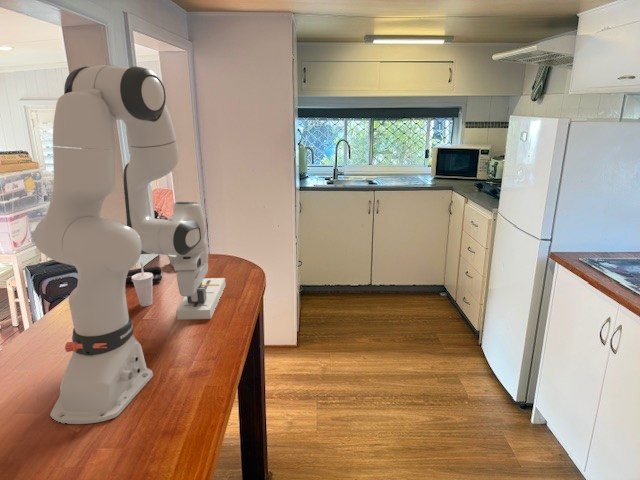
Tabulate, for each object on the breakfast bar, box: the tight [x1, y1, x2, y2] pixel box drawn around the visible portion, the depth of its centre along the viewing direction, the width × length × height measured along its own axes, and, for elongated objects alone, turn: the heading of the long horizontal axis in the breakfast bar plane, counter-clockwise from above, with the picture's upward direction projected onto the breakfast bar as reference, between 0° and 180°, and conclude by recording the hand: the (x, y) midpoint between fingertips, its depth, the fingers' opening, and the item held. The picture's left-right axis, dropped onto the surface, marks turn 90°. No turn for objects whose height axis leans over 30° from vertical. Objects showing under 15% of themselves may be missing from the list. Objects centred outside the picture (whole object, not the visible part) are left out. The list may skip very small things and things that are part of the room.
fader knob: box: [187, 287, 207, 303], centre depth 131 cm, size 3×5×4 cm, turn 91°
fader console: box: [175, 277, 226, 320], centre depth 139 cm, size 24×10×3 cm, turn 1°
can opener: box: [125, 265, 163, 285], centre depth 154 cm, size 18×7×6 cm, turn 102°
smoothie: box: [131, 261, 153, 307], centre depth 136 cm, size 6×6×14 cm
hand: (197, 297), depth 131 cm, fingers closed on fader knob, 3 cm apart
